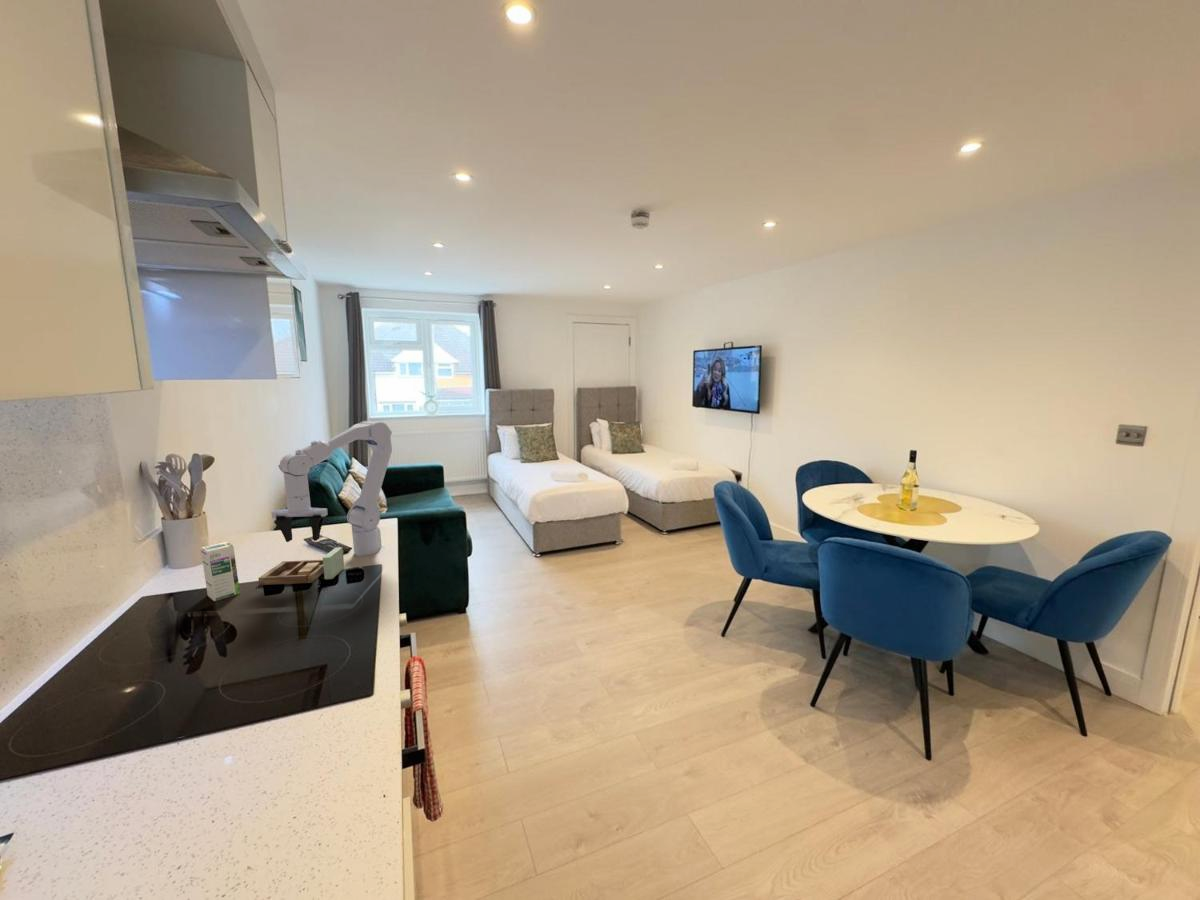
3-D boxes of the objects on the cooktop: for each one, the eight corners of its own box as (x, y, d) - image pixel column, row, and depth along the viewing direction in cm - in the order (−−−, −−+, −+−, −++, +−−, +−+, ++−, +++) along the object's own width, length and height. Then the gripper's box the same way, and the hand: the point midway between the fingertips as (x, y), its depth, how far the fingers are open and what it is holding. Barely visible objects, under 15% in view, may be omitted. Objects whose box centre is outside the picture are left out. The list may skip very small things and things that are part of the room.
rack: (283, 570, 143) (282, 561, 143) (332, 568, 145) (331, 559, 144) (259, 588, 132) (258, 578, 131) (312, 585, 133) (311, 575, 132)
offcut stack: (310, 569, 142) (309, 562, 141) (322, 569, 142) (322, 561, 142) (297, 579, 134) (296, 571, 134) (310, 579, 135) (309, 571, 134)
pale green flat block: (337, 569, 143) (335, 547, 142) (344, 569, 143) (342, 547, 142) (325, 581, 135) (322, 557, 134) (332, 580, 135) (330, 557, 134)
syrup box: (214, 605, 122) (206, 551, 120) (207, 598, 126) (199, 546, 123) (240, 596, 127) (233, 545, 124) (233, 590, 130) (226, 540, 128)
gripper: (263, 499, 133) (268, 546, 135) (317, 498, 134) (322, 543, 136) (277, 493, 140) (282, 537, 142) (328, 492, 141) (333, 535, 143)
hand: (302, 540), depth 140 cm, fingers open, 7 cm apart
